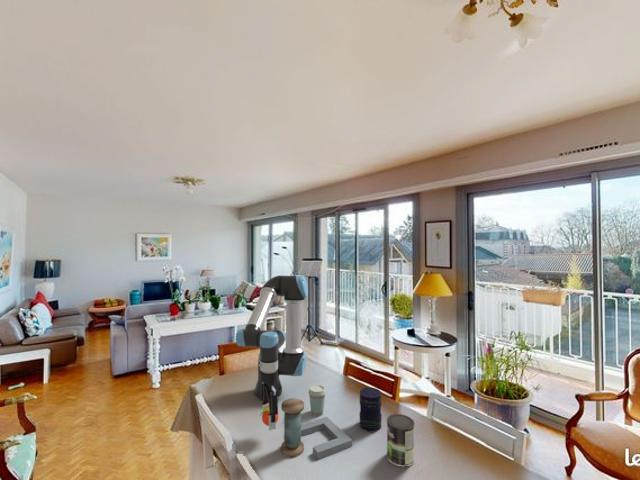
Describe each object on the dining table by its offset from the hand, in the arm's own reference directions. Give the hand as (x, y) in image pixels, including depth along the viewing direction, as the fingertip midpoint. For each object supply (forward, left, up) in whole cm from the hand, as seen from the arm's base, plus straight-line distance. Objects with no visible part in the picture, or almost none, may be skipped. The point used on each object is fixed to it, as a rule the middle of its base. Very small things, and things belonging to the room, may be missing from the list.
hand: (268, 424), depth 132 cm
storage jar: (+14, +44, -6) cm, 46 cm away
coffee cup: (-7, +28, -6) cm, 29 cm away
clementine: (0, 0, -1) cm, 1 cm away
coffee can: (+37, +40, -6) cm, 54 cm away
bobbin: (+12, +6, -6) cm, 14 cm away
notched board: (+12, +20, -6) cm, 23 cm away
